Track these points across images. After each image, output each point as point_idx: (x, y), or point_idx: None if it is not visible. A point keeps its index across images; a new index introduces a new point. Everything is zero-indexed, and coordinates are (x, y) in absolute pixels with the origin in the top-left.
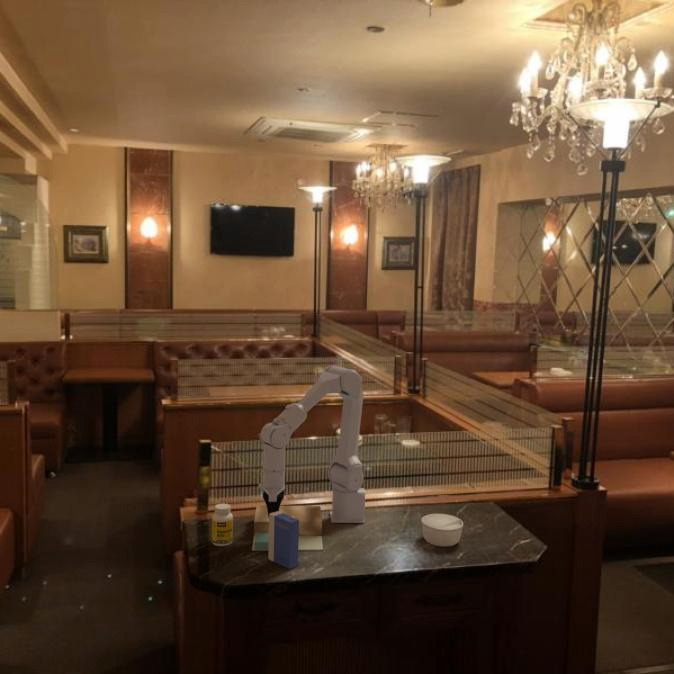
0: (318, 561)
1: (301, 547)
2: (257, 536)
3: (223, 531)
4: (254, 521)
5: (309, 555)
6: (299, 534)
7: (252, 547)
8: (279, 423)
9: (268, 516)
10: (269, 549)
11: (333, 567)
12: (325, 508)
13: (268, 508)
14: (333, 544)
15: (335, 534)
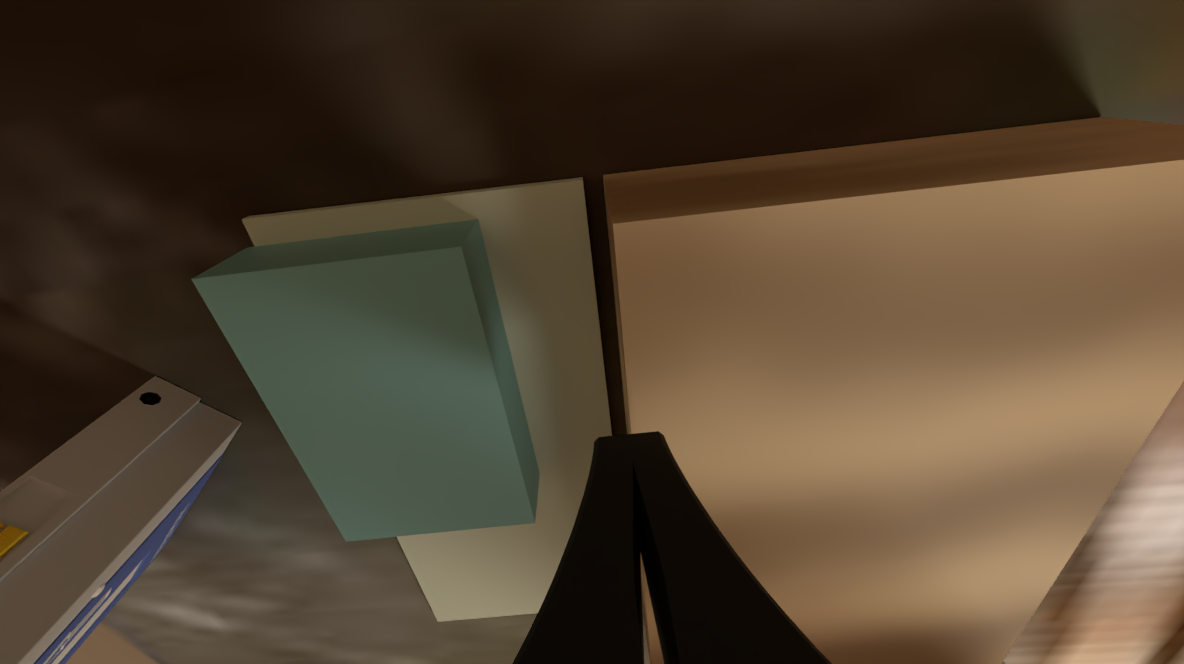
0: (289, 608)
1: (428, 539)
2: (358, 281)
3: None
4: (622, 225)
5: (349, 571)
6: None
7: (289, 216)
8: None
9: (594, 460)
10: (72, 443)
11: (253, 656)
12: (1112, 580)
13: (560, 590)
14: None
15: None
